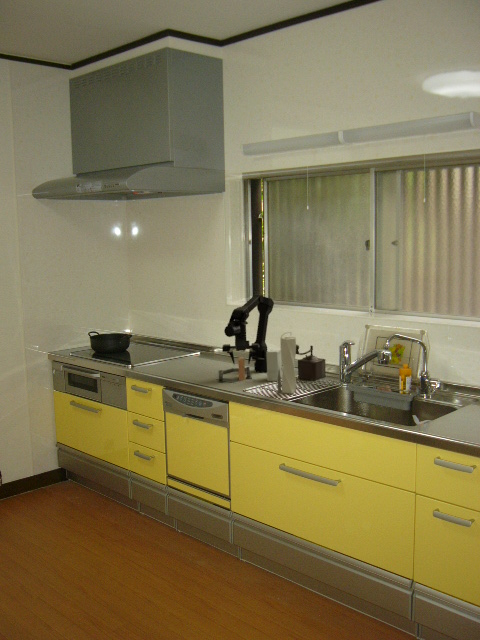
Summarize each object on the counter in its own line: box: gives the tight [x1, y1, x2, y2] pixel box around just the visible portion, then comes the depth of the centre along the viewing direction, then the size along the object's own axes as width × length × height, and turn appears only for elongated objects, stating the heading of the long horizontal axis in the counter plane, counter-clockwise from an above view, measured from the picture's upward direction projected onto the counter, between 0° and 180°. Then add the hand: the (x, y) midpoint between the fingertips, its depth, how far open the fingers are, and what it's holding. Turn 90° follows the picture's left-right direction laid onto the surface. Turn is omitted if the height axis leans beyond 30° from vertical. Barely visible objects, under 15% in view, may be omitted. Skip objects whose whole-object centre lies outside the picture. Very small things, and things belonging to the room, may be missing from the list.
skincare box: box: [266, 349, 283, 382], centre depth 334 cm, size 8×6×15 cm
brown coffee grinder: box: [296, 343, 327, 382], centre depth 334 cm, size 16×11×18 cm
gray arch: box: [217, 366, 252, 383], centre depth 336 cm, size 17×9×6 cm, turn 90°
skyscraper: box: [277, 331, 297, 395], centre depth 308 cm, size 8×8×28 cm
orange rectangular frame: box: [237, 357, 246, 381], centre depth 339 cm, size 3×8×10 cm, turn 0°
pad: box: [215, 377, 239, 384], centre depth 336 cm, size 5×11×1 cm, turn 45°
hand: (241, 364), depth 338 cm, fingers open, 7 cm apart
